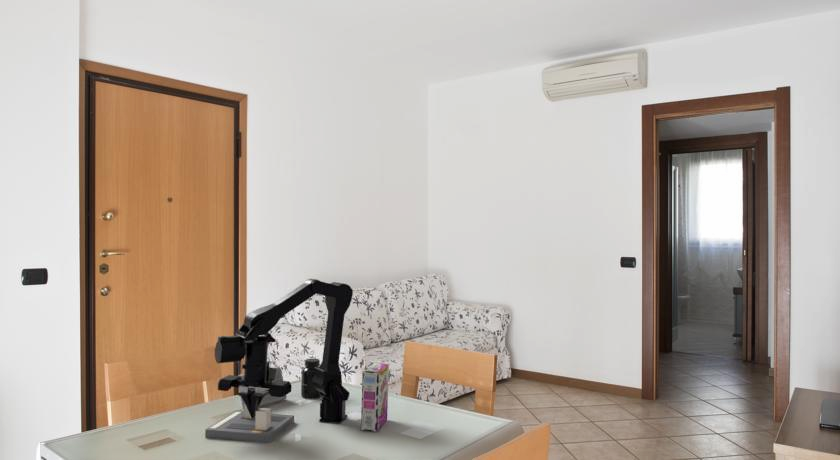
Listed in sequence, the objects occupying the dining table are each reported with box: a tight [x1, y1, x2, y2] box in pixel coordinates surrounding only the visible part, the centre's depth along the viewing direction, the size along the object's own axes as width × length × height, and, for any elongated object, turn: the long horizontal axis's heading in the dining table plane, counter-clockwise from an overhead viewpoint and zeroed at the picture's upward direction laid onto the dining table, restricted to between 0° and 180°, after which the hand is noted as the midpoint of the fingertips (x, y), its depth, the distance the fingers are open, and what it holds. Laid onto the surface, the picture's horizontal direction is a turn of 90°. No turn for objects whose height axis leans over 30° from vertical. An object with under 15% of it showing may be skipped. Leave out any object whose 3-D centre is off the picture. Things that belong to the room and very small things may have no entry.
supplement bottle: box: [300, 358, 321, 400], centre depth 188 cm, size 7×7×12 cm
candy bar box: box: [360, 362, 390, 433], centre depth 160 cm, size 11×5×16 cm, turn 168°
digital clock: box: [238, 366, 287, 410], centre depth 178 cm, size 16×9×11 cm, turn 130°
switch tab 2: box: [255, 407, 272, 430], centre depth 150 cm, size 3×3×5 cm
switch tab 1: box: [243, 403, 260, 419], centre depth 160 cm, size 3×3×5 cm
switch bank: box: [204, 410, 295, 444], centre depth 155 cm, size 18×16×2 cm
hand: (253, 417), depth 151 cm, fingers closed
